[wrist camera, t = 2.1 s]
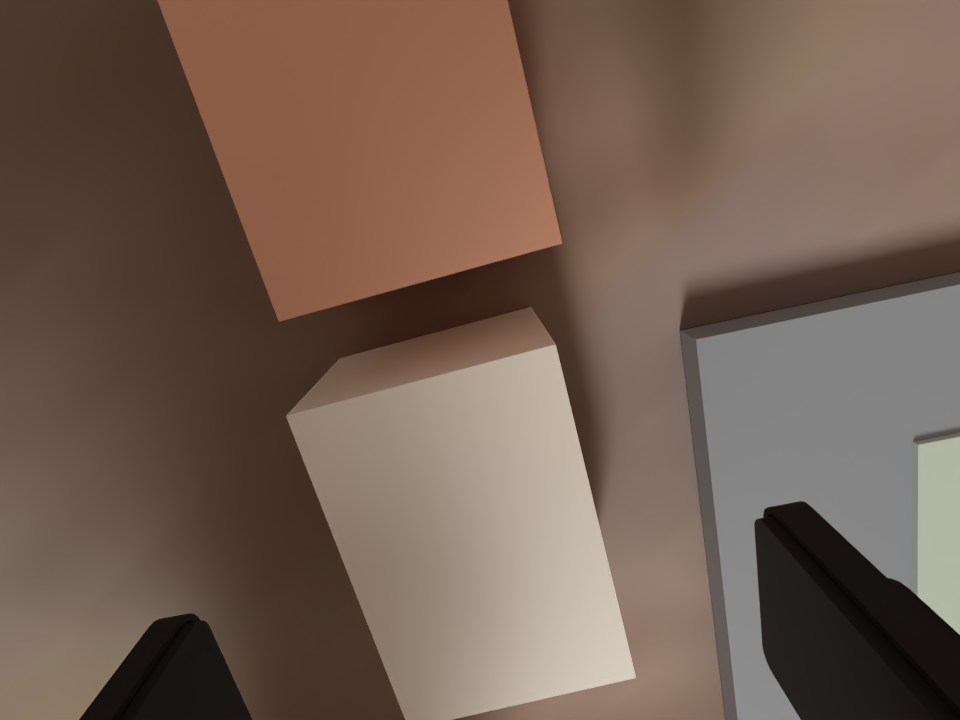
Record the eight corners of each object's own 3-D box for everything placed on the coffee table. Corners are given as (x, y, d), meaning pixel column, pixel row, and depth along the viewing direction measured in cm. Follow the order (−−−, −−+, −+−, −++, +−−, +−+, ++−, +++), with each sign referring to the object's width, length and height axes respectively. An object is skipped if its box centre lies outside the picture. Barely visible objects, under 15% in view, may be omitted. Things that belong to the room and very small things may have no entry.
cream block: (592, 556, 18) (635, 677, 13) (425, 596, 19) (409, 729, 14) (530, 305, 16) (555, 344, 11) (340, 356, 16) (285, 416, 11)
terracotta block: (534, 235, 15) (562, 243, 11) (337, 289, 16) (278, 322, 11) (448, -126, 13) (434, -325, 8) (220, -53, 13) (80, -204, 9)
